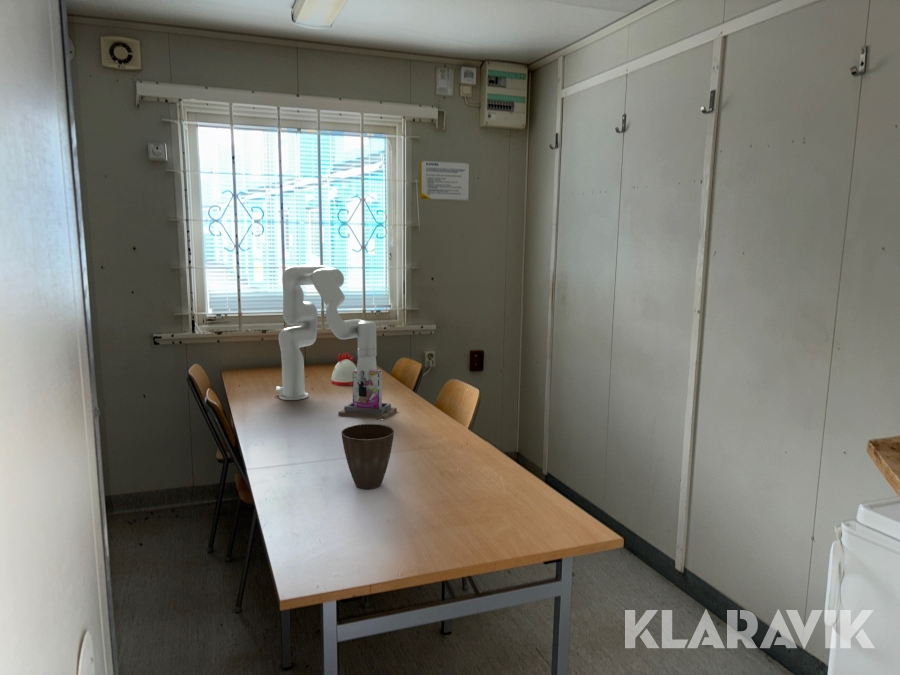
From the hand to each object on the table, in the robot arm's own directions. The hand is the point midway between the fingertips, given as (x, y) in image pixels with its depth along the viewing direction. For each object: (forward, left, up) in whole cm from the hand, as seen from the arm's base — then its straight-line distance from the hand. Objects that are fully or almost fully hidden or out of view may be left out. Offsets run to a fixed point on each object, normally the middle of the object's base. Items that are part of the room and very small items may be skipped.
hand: (367, 393), depth 250 cm
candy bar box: (0, 0, -7) cm, 7 cm away
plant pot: (+30, -68, -8) cm, 75 cm away
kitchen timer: (-33, +48, -9) cm, 59 cm away
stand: (0, 0, -8) cm, 8 cm away
